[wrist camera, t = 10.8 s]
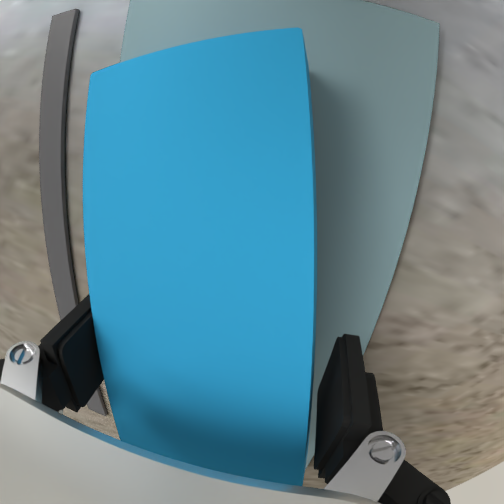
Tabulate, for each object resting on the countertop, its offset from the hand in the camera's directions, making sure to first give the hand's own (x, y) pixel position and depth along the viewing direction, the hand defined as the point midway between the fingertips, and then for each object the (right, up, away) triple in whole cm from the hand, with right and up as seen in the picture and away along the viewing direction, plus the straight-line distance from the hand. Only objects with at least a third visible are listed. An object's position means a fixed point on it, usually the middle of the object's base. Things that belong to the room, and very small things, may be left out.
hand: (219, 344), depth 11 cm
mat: (+1, +1, +3) cm, 3 cm away
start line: (-9, +3, +4) cm, 10 cm away
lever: (0, +2, +2) cm, 3 cm away
